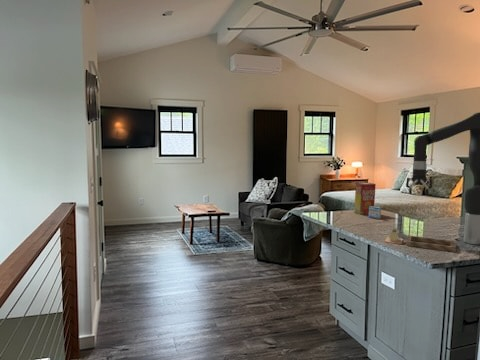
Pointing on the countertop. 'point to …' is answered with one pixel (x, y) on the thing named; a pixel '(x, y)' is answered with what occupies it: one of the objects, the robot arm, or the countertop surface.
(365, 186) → the food packaging
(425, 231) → the countertop surface
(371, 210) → the medicine box
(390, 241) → the mat
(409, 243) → the open wooden frame
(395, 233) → the lever cap
